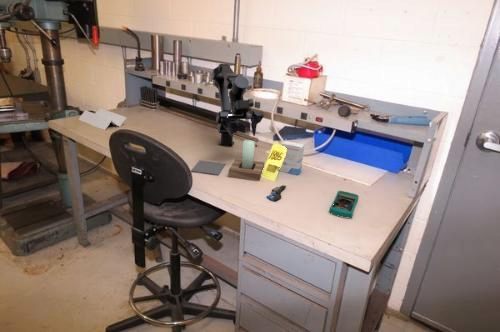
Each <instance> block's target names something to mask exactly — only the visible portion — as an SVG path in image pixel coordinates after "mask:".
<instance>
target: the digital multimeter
mask: <svg viewBox="0 0 500 332" xmlns="http://www.w3.org/2000/svg"><path fill="white" fill-rule="evenodd" d="M359 198H360V197H359V195H358V194H357V193H353V192H350V191H349V192H348V191H344V190H338V191H337V192H336V195H335V197H334V200H333V201H332V202H331V205H330V207H329V210H328V213H329V212H330V213H329V214H331V213H332V214H331V215H333V214H335V215H334V216H336V215H339V216H343V217H349V218H351V219H352V218H353V214H354V211H355V208H356V205H357V203H358V202H359V201H358V200H359ZM333 204H334V205H333ZM339 216H338V217H339ZM343 217H342V218H343ZM349 218H348V219H349Z"/></svg>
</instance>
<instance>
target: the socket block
mask: <svg viewBox="0 0 500 332" xmlns="http://www.w3.org/2000/svg"><path fill="white" fill-rule="evenodd" d="M263 168H264V169H265V161H259V160H253V170H251V169H243V168H242V158H235V159H234V161H233V162H232V164H231V165H230V167H229V169H228V178H232V179H233V178H234V179H239V180H240V179H242V180H247V181H255V182H260V181H261V178H262V176H261V174H262V175H263V173H262V170H263ZM263 171H264V170H263Z"/></svg>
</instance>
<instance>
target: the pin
mask: <svg viewBox="0 0 500 332" xmlns="http://www.w3.org/2000/svg"><path fill="white" fill-rule="evenodd" d="M255 143H256V141H254V140H251V139H245V140H243V142H242V152H241V153H242V154H241V156H242V157H241V159H242V168H243V169H251V170H253V161H254V158H255V155H254V153H255Z"/></svg>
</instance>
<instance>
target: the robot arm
mask: <svg viewBox="0 0 500 332" xmlns="http://www.w3.org/2000/svg"><path fill="white" fill-rule="evenodd" d="M211 80H212V82H213V85H214V86H215V87H216V89H217V92H218V91H219V92H218V97H219V105H220V111H219V110H218V112H217V114H216V118H215V120H216V124H217V126H216V127H217V129H216V130H217V132H218V133H219V134H220V141H219V143H218V146H222V147H231V148H232V147H233V145H234V144H235V141H234V139H233V138H234V133H235V134H236V133H238V129H239V121H238V120H250V122H251V123H250V127H251V132H252V136H253V137H255V136H256V132H257V126H258V124H259V123H261V122H262V120H263V118H264V115H265V114H264V112H263V111H262V110H253V111H252V112H251V114H250V113H248V112H249V109H251V108H254V106H255V104H254V103H255V102H254V99H253V98H248V99H246V100H245V99H244V95H246V91H247V90H248V87H249V84H250V82H249V79H248V78H246V76H243V74H242V73H235V72H234V71H233V69H232V68H231V64H229V63H220V64H218V66H217V67H215V68H213V70H212V72H211ZM228 94H229V96H228ZM247 113H248V114H247Z"/></svg>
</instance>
